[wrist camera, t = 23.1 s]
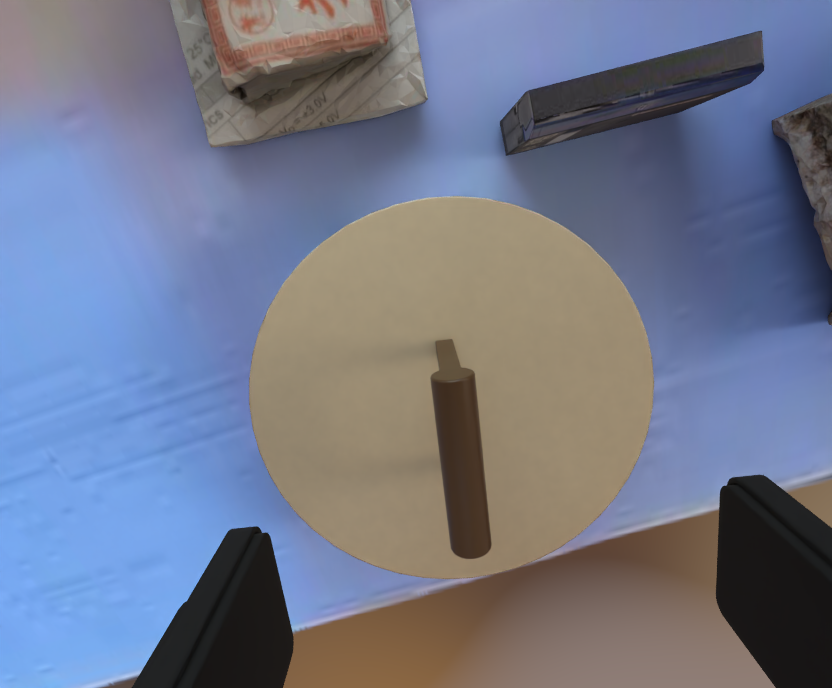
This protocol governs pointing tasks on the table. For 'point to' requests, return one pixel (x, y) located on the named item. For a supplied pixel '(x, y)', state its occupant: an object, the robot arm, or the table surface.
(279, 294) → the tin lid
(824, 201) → the geological specimen
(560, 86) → the mini dv tape
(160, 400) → the table surface
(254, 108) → the packaged product
